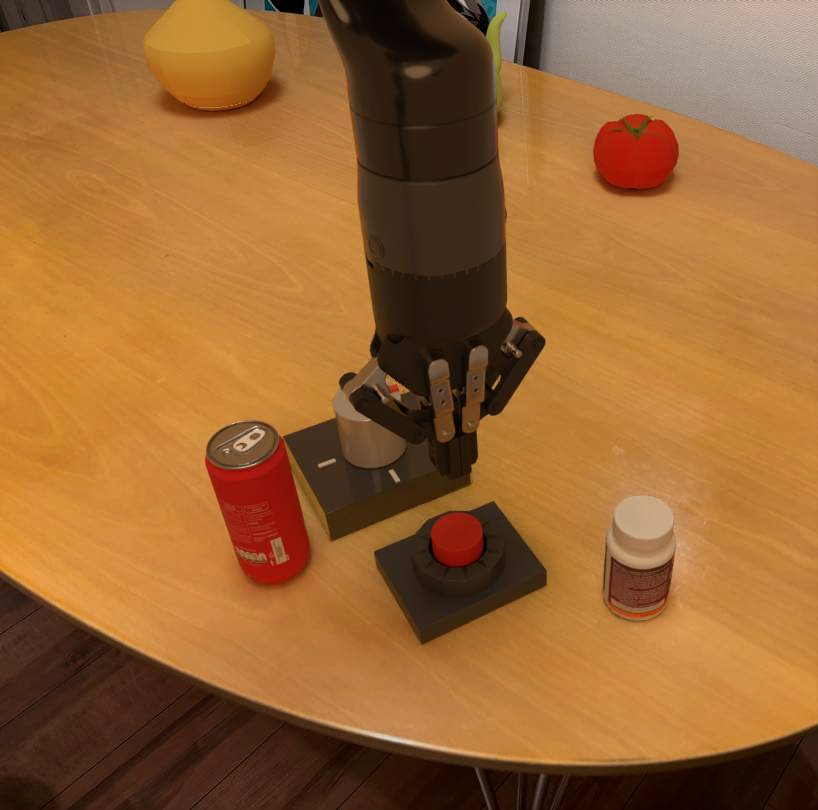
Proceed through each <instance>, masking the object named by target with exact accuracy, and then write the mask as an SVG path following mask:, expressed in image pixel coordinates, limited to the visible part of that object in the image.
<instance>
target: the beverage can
mask: <svg viewBox="0 0 818 810" xmlns="http://www.w3.org/2000/svg"><path fill="white" fill-rule="evenodd" d="M204 465H205V468H206V470H207V471H206V472H207V474H208V477H209V480H210V483H211V485H212V488H213V491H214V494H215V497H216V501H217V504H218V506H219V509H220V512H221V515H222V517H223V521H224V524H225V527H226V529H227V532H228V536H229V538H230V540H231V541H230V542H231V545H232V547H233V550H234V553H235V556H236V559H237V562H238V565H239V567H240V568H241V570H242V571H243V572H244V573H245V575H248V576H249V577H250V578H251V579H252V580H253V581H255V582H256V583H259V584H261V585H265V586H266V585H267V586H274V585H281V584H285V583H286V582H287V583H288V582H289V581H291V580H293V579H294V578H296V577H297V576H298V575H299V574H301V573H302V571H303V570H304V569H305V567H306V565H307V562H308V557H309V555H310V552H311V540H310V537H309V534H308V529H307V525H306V522H305V521H306V520H305V517H304V514H303V513H304V512H303V509H302V505H301V501H300V498H299V494H298V490H297V486H296V482H295V478H294V474H293V469H292V467H291V465H290V462H289V458H288V454H287V450H286V446H285V442H284V440H283V436H281V435H280V434H279V432H278V430H277V429H276V428H275V427H274V426H273V425H271V424H270V423H268V422H267V421H266V422H265V421H263V420H258V419H257V420H255V419H247V420H238V421H235V422H232V423H230V424H228V425H227V424H226V425H225V426H223V427H222V428H220V429H218V430H217V431H216V432H215V433H214V434H213V435H212V436H211V437H210V438H208V441H207V443H206V445H205V457H204Z"/></svg>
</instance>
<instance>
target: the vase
mask: <svg viewBox="0 0 818 810" xmlns="http://www.w3.org/2000/svg"><path fill="white" fill-rule="evenodd" d="M276 51H277V50H276V45H275V39H274V35H273V34H272V32H271V30H270V28H269V27H268V25H267V23H266V22H264V21H263V20H261V19H260V18H258V17H256V16H254V15H253V14H251V13H249V12H247V11H246V10H244V9H242V8H241V7H239V6H238V5H236V4H234V3H233V2H232V1H230V0H174V1H173V3H172V4H171V5H170V7H168V9H167V10H166V11H165V12H164V13H163V15H161V16H160V18H159V19H158V20H157V21H156V22H155V23H154V24H153V25H152V26H151V27H150V28H149V29H148V30H147V31H146V32H145V35H144V36H143V40H142V52H143V55H144V58H145V62H146V64H147V68H148V70H149V72H151V74H152V75H153V76H154V78H155V79H156V80H157V82H158V83H159V85H160V86H161V88H163V90H165V91H166V92H167V93H169V94H170V95H172V96H173V98H175V99H176V100H178V102H180V103H182V104H184V103H185V104H184V105H186V106H188V107H191V108H193V109H195V110H200V111H206V112H208V111H209V112H217V111H227V110H233V109H238V108H241V107H243V106H246V105H248V104H250V103H252V102H253V101H254V100H255V99H256V98H258V96H259V95H260V94H261V93H262V92H263V91H264V90H265V88H266V86H267V84H268V83H269V81H270V79H271V76H272V72H273V67H274V63H275V58H276V53H277V52H276ZM251 99H252V100H251ZM249 100H250V101H249ZM246 101H247V102H246ZM243 102H244V103H243ZM239 103H241V104H239ZM235 104H237V105H235ZM189 105H191V106H189ZM230 105H233V106H230ZM193 106H196V107H193ZM222 106H228V107H222ZM199 107H221V108H199Z"/></svg>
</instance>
